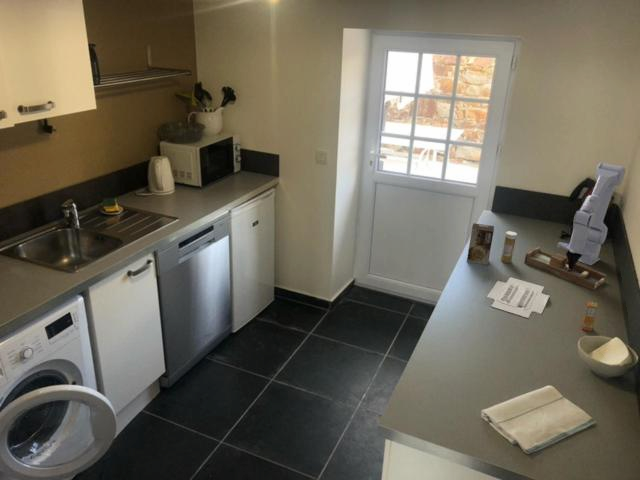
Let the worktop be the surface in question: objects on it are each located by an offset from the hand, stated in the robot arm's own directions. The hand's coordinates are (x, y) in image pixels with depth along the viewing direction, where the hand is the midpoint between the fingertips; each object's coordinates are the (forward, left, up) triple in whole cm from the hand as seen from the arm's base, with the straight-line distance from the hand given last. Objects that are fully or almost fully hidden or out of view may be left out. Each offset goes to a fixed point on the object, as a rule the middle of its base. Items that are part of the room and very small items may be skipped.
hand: (570, 268), depth 224 cm
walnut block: (0, -6, -1) cm, 6 cm away
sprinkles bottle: (+11, -24, -3) cm, 26 cm away
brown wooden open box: (0, -3, -3) cm, 4 cm away
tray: (+35, -4, -4) cm, 35 cm away
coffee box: (+21, -32, -3) cm, 38 cm away
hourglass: (+36, +23, -3) cm, 42 cm away
